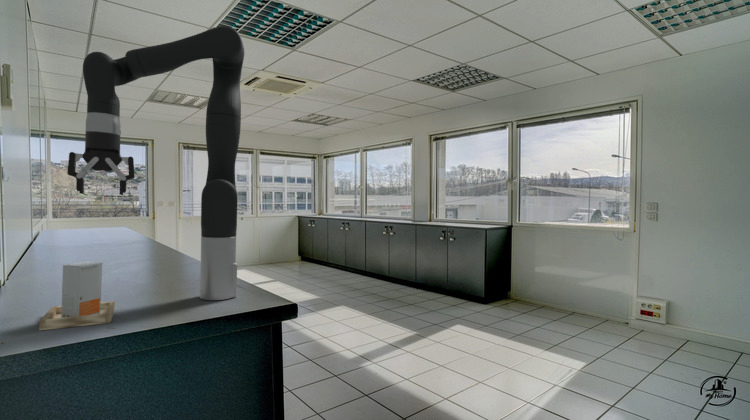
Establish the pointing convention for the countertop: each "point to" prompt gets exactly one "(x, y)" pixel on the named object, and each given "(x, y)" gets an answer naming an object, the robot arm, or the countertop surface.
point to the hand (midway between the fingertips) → (102, 194)
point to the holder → (76, 318)
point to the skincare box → (81, 289)
